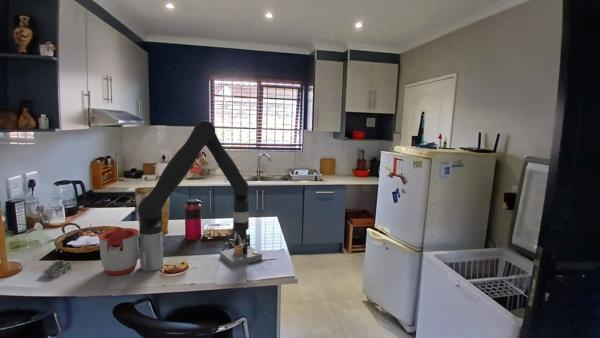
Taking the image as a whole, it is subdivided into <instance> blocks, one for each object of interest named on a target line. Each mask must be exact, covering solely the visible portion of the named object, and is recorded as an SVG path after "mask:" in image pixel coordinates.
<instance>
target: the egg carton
mask: <svg viewBox="0 0 600 338" xmlns="http://www.w3.org/2000/svg"><path fill="white" fill-rule="evenodd" d="M72 263H73V261H66V262H64V261H63V260H59V259H56V260H55V261H54V262H52V264H50V265H49V267H47V268H45V270H44V271H42V274H44V278H45V279H46V278H50V277H52V278H55V279H56V278H59V277H61V276H63V274H65V273H68V270H72V269H73V267H72V266H73V265H72Z"/></svg>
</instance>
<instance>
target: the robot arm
mask: <svg viewBox="0 0 600 338" xmlns="http://www.w3.org/2000/svg"><path fill="white" fill-rule="evenodd" d="M204 147H206V148H207V149H208V151H209V152H210V153H211V155H212V156H213V159H214V160H215V162H216V164H217V165H218V167H219V169H220V170H221V172H222V173H223V176H224V177H225V178H226V179H227V181H228V183H229V184H230V187H232V190H233V198H234V200H233V217H232V232H231V235H232V240H233V241H234V246H237V245H240V244H242V245H243V254H247V247H249V246H251V234H247V230H249V225H250V223H249V221H250V219H249V217H250V215H249V200H248V196H249V194H248V193H249V190H250V189H249V188H250V187H249V183H248V182H247V180H246V179H245V178H244V176H243V175H242V174H241V172H240V170H239V168H238V167H237V165H236V163H235V161H234V160H233V159H232V157H231V156H230V154H229V153H228V152H227V150H226V149H225V148H224V147H223V145H222V143H221V141H220V139H219V138H218V136H217V132H216V128H215V126H214V124H213V123H212V122H211V121H209V120H205V119H203V120H200V121H198V122H197V123H196V124H195V125H194V127H193V129H192V131H191V133H190V135H189V137H188V139H187V140H186V141H185V143H184V144H183V146H182V147H180V148H179V149H178V151H177V152H176V153H175V154H174V155H173V157H172V158H171V159H170V160H169V162H168V163H167V164H166V165H165V167H164V169H163V171H162V173H161V174H160V175H159V178H158V181H156V184H155V186H153V187H154V189H153V190H152V191H151V192H150V194H149V195H148V196H146V197H144V198H143V199H142V200H141V202H140V204H139V206H138V212H139V215H140V234H139V246H140V247H139V268H140V269H141V271H142V272H143V273H145V272H146V273H147V272H155V271H159V270H160V269H162V268H163V267H164V250H163V248H164V245H163V234H162V208H163V206H164V204H165V202H166V201H167V199H168V197H169V196H170V197H171V195H172V194H173V192H174V191H175V190H176V189H177V187H178V186H179V185H180V184H181V183H182V181H183V180H184V179H185V178H186V176H187V175H188V173H189V172H190V170H191V168H192V167H193V165H194V164H195V161H196V160H197V158H198V156H199V154H200V152H201V151H202V150H203V148H204ZM138 212H137V213H138ZM162 266H163V267H162ZM161 267H162V268H161Z"/></svg>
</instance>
